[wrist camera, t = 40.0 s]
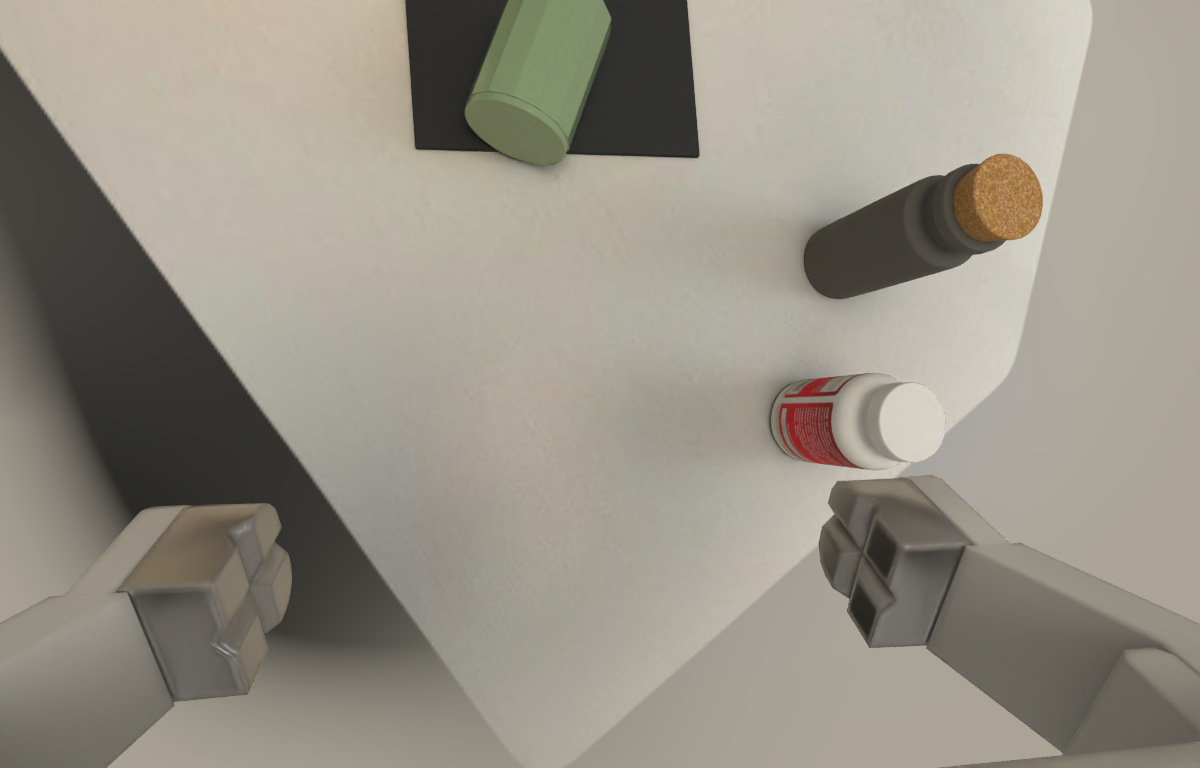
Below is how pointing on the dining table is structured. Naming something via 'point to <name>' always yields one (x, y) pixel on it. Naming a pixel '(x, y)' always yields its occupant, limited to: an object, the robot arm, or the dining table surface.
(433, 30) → the mat
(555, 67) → the green faceted canister
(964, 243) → the bottle
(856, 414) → the pill bottle
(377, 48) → the dining table surface
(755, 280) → the dining table surface
